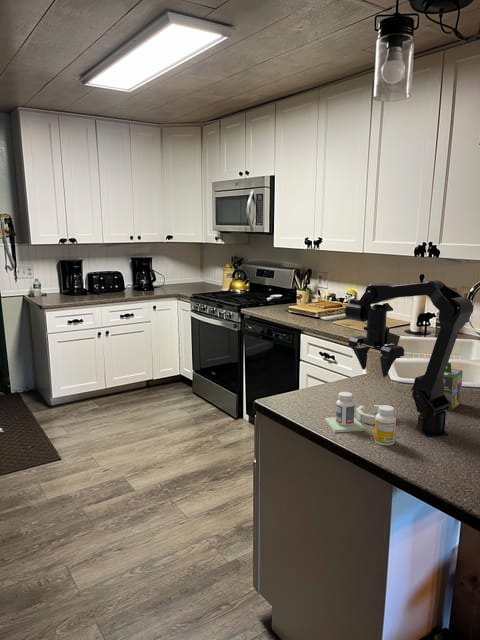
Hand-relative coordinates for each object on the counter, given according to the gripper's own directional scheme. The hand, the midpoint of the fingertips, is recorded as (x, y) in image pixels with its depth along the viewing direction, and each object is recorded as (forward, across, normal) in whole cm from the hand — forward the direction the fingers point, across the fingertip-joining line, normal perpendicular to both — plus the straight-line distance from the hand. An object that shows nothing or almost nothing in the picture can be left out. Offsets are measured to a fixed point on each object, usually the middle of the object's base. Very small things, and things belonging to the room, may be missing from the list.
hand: (374, 372), depth 150 cm
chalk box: (+13, -7, -24) cm, 28 cm away
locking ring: (+12, -5, +4) cm, 14 cm away
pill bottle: (+12, -5, +16) cm, 20 cm away
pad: (+12, -5, +16) cm, 21 cm away
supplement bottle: (+13, -19, +13) cm, 26 cm away
